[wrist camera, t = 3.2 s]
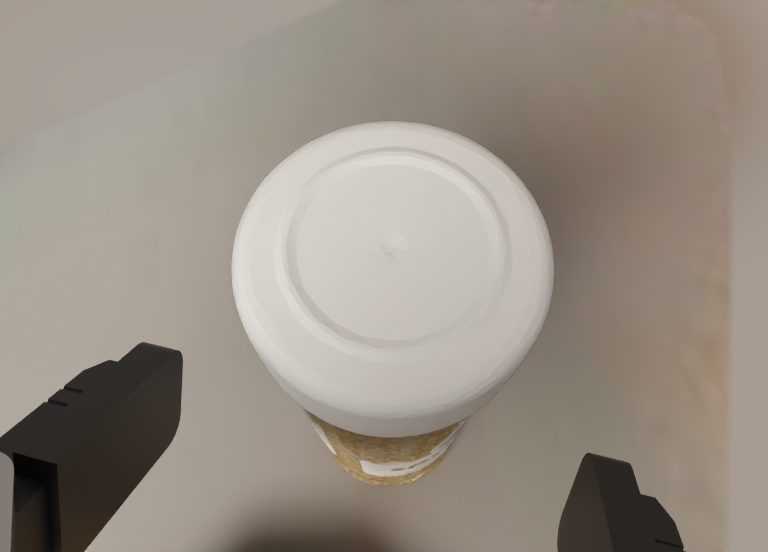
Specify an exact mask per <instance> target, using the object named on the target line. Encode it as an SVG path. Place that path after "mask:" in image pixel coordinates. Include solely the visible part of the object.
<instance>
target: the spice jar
mask: <svg viewBox="0 0 768 552" xmlns="http://www.w3.org/2000/svg"><path fill="white" fill-rule="evenodd" d="M553 285H554V259H553V250H552V243H551V239H550V235H549V231H548V228H547V225H546V222H545V220H544V217H543V215H542V213H541V211H540V209H539V207H538V205H537V203H536V202H535V200H534V198H533V196H532V195H531V193H530V192H529V190H528V189H527V188H526V186H525V185H524V183H523V182H522V181H521V179H520V178H519V177H518V176H517V175H516V174H515V173H514V171H512V170H511V169H510V168H509V167H508V166H507V165H506V164H505V163H504V162H503V161H502V160H501V159H499V158H498V157H497V156H495V155H494V154H492V153H491V152H490V151H488V150H487V149H486V148H484V147H482V146H481V145H479V144H477V143H476V142H474V141H472V140H471V139H468V138H466V137H464V136H462V135H460V134H457V133H455V132H452V131H449V130H446V129H443V128H439V127H435V126H431V125H427V124H422V123H414V122H403V121H379V122H370V123H363V124H358V125H353V126H349V127H344V128H341V129H339V130H336V131H333V132H330V133H328V134H326V135H323V136H321V137H319V138H317V139H314V140H312V141H310V142H308V143H307V144H305V145H303V146H302V147H300V148H299V149H297V150H295V151H294V152H293V153H292V154H290V155H289V156H288V157H287V158H285V159H284V160H283V161H282V162H281V163H279V164H278V165H277V166H276V167H275V168H274V169H273V170H272V171H271V172H270V173H269V174H268V175H267V177H266V178H265V179H264V180H263V181H262V183H261V184H260V185H259V187H258V188H257V190H256V191H255V193H254V194H253V196H252V198H251V199H250V201H249V203H248V205H247V207H246V209H245V211H244V213H243V216H242V218H241V221H240V224H239V226H238V229H237V233H236V236H235V240H234V247H233V256H232V286H233V294H234V299H235V303H236V306H237V310H238V313H239V317H240V319H241V322H242V324H243V326H244V329H245V331H246V334H247V335H248V337H249V339H250V341H251V343H252V345H253V347H254V348H255V350H256V352H257V353H258V355H259V357H260V358H261V360H262V362H263V363H264V365H265V366H266V368H267V369H268V371H269V372H270V373H271V375H272V376H273V377H274V379H275V380H276V381H277V383H278V384H279V385H280V386H281V388H282V389H283V390H284V391H285V392H286V393H287V394H288V395H289V397H291V398H292V399H293V400H294V401H295V402H297V403H298V404H299V405H300V407H301V408H302V410H303V411H304V413H305V415H306V416H307V418H308V419H309V421H310V422H311V424H312V425H313V427H314V428H315V429H316V431H317V433H318V434H319V436H320V437H321V438H322V440H323V441H324V442H325V444H326V445H327V446H328V448H329V450H330V451H331V453H332V455H333V457H334V459H335V460H336V462H337V463H338V464H339V465H340V466H341V467H342V468H343V469H344V470H345V471H347V472H348V473H349V474H350V475H352V476H353V477H355V478H357V479H358V480H361V481H363V482H367V483H370V484H373V485H377V486H400V485H405V484H409V483H411V482H414V481H415V480H417V479H419V478H421V477H423V476H425V475H426V474H427V473H429V472H430V471H431V470H432V469H433V468H434V467H436V466H437V465H438V464H439V463H440V462H441V461H442V459H443V458H444V456H445V454H446V452H447V450H448V449H449V447H450V445H451V443H452V441H453V440H454V438H455V437H456V435H457V434H458V432H459V430H460V429H461V427H462V425H463V424H464V423H465V421H466V420H467V419H468V417H469V416H470V415H471V414H472V413H474V412H475V411H477V410H478V409H480V408H481V407H482V406H484V405H485V404H486V403H487V402H488V401H489V400H490V399H491V398H492V397H494V396H495V395H496V394H497V393H498V391H499V390H500V389H501V388H502V387H503V386H504V385H505V383H506V382H507V381H508V380H509V379H510V378H511V377H512V375H513V374H514V373H515V371H516V370H517V369H518V367H519V366H520V364H521V363H522V362H523V360H524V359H525V357H526V356H527V354H528V352H529V351H530V349H531V348H532V346H533V345H534V343H535V341H536V339H537V338H538V336H539V334H540V332H541V330H542V327H543V325H544V322H545V320H546V317H547V314H548V311H549V308H550V303H551V298H552V293H553Z"/></svg>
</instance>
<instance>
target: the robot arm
mask: <svg viewBox="0 0 768 552" xmlns="http://www.w3.org/2000/svg"><path fill="white" fill-rule="evenodd" d="M182 369H183V358H182V354H181V352H180V351H178V350H174V349H170V348H166V347H162V346H157V345H153V344H149V343H145V342H142V343H140V344H138V345H137V346H136V347H135V348H133V349H132V350H131V351H130V352H129V353H128V354H126V355H125V356H124V357H123V358H122V359H121V360H119V361H118V362H116V361H112V360H108V361H106V362H103V363H101V364H98V365H96V366H93V367H91V368H89V369H86V370H84V371H82V372H81V373H80V374H79V375H77V376H76V377H75V378H74V379H72V380H71V381H70V382H69V383H67V384H66V385H65V386H64V389H63V390H62V389H60V390H59V391H57V392H56V393H55V394H54V395H53V396H51V397H50V398H49V399H48V402H47V403H46V402H44V403H43V404H41V405H40V406H39V407H38V408H36V409H35V410H34V411H33V412H31V413H30V414H29V415H28V416H26V417H25V418H24V419H23V420H22V421H20V422H19V423H18V424H17V425H15V426H14V427H13V428H12V429H10V430H9V431H8V432H7V433H5V434H4V435H3V436H2V437H0V552H84V551H85V550H86V549H87V547H88V546H89V545H90V544H91V542H92V541H93V540H94V539H95V537H96V536H97V535H98V534H99V532H100V531H101V530H102V529H103V527H104V526H105V525H106V524H107V522H108V521H109V520H110V519H111V517H112V516H113V515H114V514H115V512H116V511H117V510H118V509H119V508H120V506H121V505H122V504H123V503H124V501H125V500H126V499H127V498H128V496H129V495H130V494H131V493H132V491H133V490H134V489H135V488H136V486H137V485H138V484H139V483H140V481H141V480H142V479H143V478H144V476H145V475H146V474H147V473H148V471H149V470H150V469H151V468H152V466H153V465H154V464H155V463H156V461H157V460H158V459H159V458H160V456H161V455H162V454H163V453H164V451H165V450H166V449H167V448H168V446H169V445H170V443H171V442H172V440H173V438H174V436H175V434H176V431H177V428H178V425H179V421H180V413H181V391H182ZM557 546H558V552H685V551H683V547H684V546H683V543H682V541H681V538H680V535H679V533H678V530H677V527H676V524H675V522H674V521H673V519H672V518H671V517H670V516H669V514H668V513H667V512H666V511H665V509H664V508H663V507H662V506H661V504H660V503H659V502H658V501H657V499H656V498H654V497H650V496H646V495H642V494H640V492H639V488H638V485H637V482H636V479H635V476H634V472H633V469H632V467H631V465H630V463H628V462H624V461H620V460H616V459H612V458H608V457H604V456H600V455H596V454H592V453H587V454H586V455H585V456H584V458H583V459H582V462H581V464H580V467H579V470H578V472H577V475H576V478H575V480H574V483H573V486H572V488H571V491H570V494H569V497H568V499H567V502H566V505H565V507H564V510H563V513H562V516H561V519H560V524H559V530H558V542H557Z"/></svg>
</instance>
